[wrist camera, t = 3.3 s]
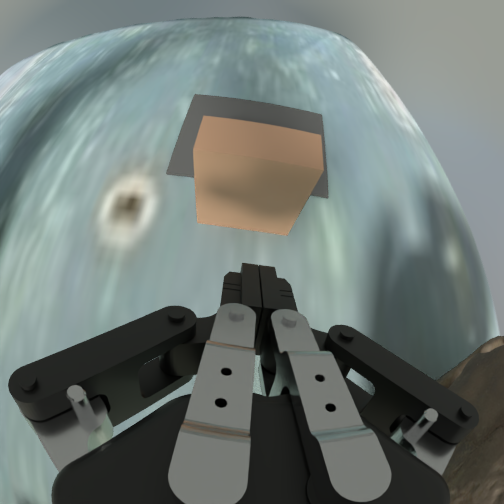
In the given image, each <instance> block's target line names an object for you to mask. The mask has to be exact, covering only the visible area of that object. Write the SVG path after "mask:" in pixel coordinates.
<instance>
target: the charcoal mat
mask: <svg viewBox="0 0 504 504" xmlns="http://www.w3.org/2000/svg"><path fill="white" fill-rule="evenodd" d="M203 116H212V117H221V118H229V119H237V120H244V121H251V122H257V123H263V124H269V125H275V126H280V127H285V128H291V129H296V130H300V131H305V132H310V133H314V134H319V135H321V140H322V153H323V167H324V171H323V173H322V174H321V176H320V178H319V180H318V182H317V184H316V185H315V187H314V189H313V191H312V193H311V194H310V195H313V196H319V197H324V198H328V180H327V165H326V152H325V141H324V130H323V121H322V115H321V114H317V113H313V112H309V111H304V110H299V109H295V108H290V107H285V106H280V105H274V104H269V103H263V102H256V101H250V100H243V99H236V98H228V97H219V96H209V95H198V94H195V95H194V97H193V100H192V102H191V105H190V107H189V110H188V112H187V115H186V118H185V120H184V123H183V126H182V128H181V131H180V134H179V137H178V140H177V142H176V145H175V148H174V151H173V154H172V157H171V160H170V163H169V166H168V169H167V172H166V174H168V175H178V176H187V177H194V160H193V148H194V145H195V141H196V138H197V135H198V131H199V128H200V125H201V122H202V119H203Z"/></svg>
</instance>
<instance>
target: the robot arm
mask: <svg viewBox="0 0 504 504" xmlns="http://www.w3.org/2000/svg"><path fill="white" fill-rule="evenodd" d="M255 355H260V363H259V367H258V373H259V380H260V386H261V392H262V395H260V394H256V393H253V380H254V366H255ZM158 356H159V357H158ZM156 357H157V358H156ZM154 358H155V359H154ZM152 359H153V360H152ZM151 360H152V361H151ZM149 361H150V362H149ZM147 362H148V363H147ZM145 363H146V364H145ZM351 368H352V369H353V370H355V371H356V372H357V373H359V374H360V375H362V376H363V377H365V378H366V379H367V380H369V381H370V382H372V383H373V385H374V387H375V394H374V395H373V396H372V395H370V394H369V393H367V392H366V391H364V390H363V389H362V388H360V387H359V386H358V385H356V384H355V383H353V382H352V381H351V380H349V379H348V378H347V377H346V376H347V375H348V373H349V371H350V369H351ZM196 374H197V376H196V380H195V383H194V387H193V391H192V394H188V395H184V396H180V397H178V398H175V399H173V400H171V401H169V402H167V403H166V404H164V405H163V406H161V407H160V408H158V409H157V410H155V411H154V412H152V413H151V414H149V415H148V416H146V417H145V418H143V419H142V420H140V421H139V422H137V423H136V424H134V425H132V426H131V427H129V428H128V429H126V430H125V431H123V432H121V433H120V434H118V435H117V436H115V437H113V438H112V436H113V432H114V431H113V427H114V426H116V425H118V424H120V423H122V422H123V421H125V420H127V419H129V418H130V417H132V416H134V415H135V414H137V413H139V412H141V411H142V410H144V409H146V408H147V407H149V406H151V405H152V404H154V403H155V402H157V401H159V400H160V399H162V398H164V397H165V396H167V395H168V394H170V393H172V392H173V391H175V390H176V389H178V388H180V387H181V386H183V385H184V384H186V383H187V382H189V381H190V380H191V379H192V377H193V375H196ZM8 387H9V391H10V393H11V395H12V397H13V398H14V400H15V402H16V403H17V405H18V407H19V409H20V412H21V413H22V415H23V416H24V418H25V419H26V421H27V422H28V424H29V425H30V426H31V428H32V429H33V431H34V432H35V433H36V434H37V435H38V437H39V439H40V441H41V443H42V445H43V446H44V448H45V450H46V452H47V453H48V455H49V457H50V458H51V460H52V462H53V463H54V465H55V467H56V468H57V470H58V471H59V474H58V475H57V477H56V479H55V481H54V484H53V487H52V504H450V491H449V488H448V485H447V483H446V481H445V479H444V478H443V477H442V474H443V472H444V470H445V468H446V466H447V464H448V462H449V460H450V458H451V456H452V454H453V452H454V450H455V447H456V446H457V445H458V444H459V443H460V442H461V441H462V440H463V439H464V438H465V437H466V436H467V435H468V434H469V433H470V432H471V431H472V430H473V429H474V428H475V427H476V426H477V424H478V422H479V414H478V412H477V410H476V408H475V407H474V406H473V405H472V404H471V403H469V402H468V401H466V400H465V399H463V398H462V397H460V396H458V395H457V394H455V393H454V392H452V391H450V390H449V389H447V388H446V387H444V386H443V385H441V384H439V383H438V382H436V381H435V380H433V379H432V378H430V377H429V376H427V375H425V374H424V373H422V372H421V371H419V370H418V369H416V368H414V367H413V366H411V365H410V364H408V363H407V362H405V361H404V360H402V359H400V358H399V357H397V356H396V355H394V354H393V353H391V352H390V351H388V350H386V349H385V348H383V347H382V346H380V345H379V344H377V343H376V342H374V341H373V340H371V339H369V338H368V337H366V336H365V335H363V334H362V333H360V332H359V331H357V330H355V329H354V328H352V327H349V326H346V325H335V326H332V327H331V328H330V329H329V332H328V333H325V332H321V331H318V330H315V329H312V328H310V326H309V323H308V321H307V319H306V318H305V317H304V316H303V315H302V314H300V313H299V312H298V310H297V307H296V303H295V299H294V296H293V292H292V288H291V285H290V284H289V283H288V282H287V281H286V280H285V279H282V278H277V275H276V271H275V267H270V266H262V265H259V266H258V265H255V264H247V263H242V266H241V272H240V273H236V272H229V273H228V274H226V275H225V276H224V282H223V290H222V297H221V304H220V307H219V309H218V311H217V313H216V314H214V315H212V316H210V317H205V318H197V317H196V315H195V313H194V312H193V311H191V310H190V309H188V308H186V307H182V306H168V307H165V308H162V309H160V310H158V311H155V312H153V313H151V314H148V315H146V316H144V317H141V318H139V319H137V320H134V321H132V322H129V323H127V324H125V325H122V326H120V327H118V328H115V329H113V330H111V331H108V332H106V333H103V334H101V335H99V336H96V337H94V338H91V339H89V340H87V341H84V342H82V343H79V344H77V345H74V346H72V347H70V348H67V349H65V350H62V351H60V352H57V353H55V354H52V355H50V356H47V357H45V358H43V359H40V360H38V361H35V362H33V363H30V364H28V365H25V366H23V367H20V368H19V369H17V370H16V371H15V372H14V373H13V374H12V375H11V377H10V379H9V383H8Z"/></svg>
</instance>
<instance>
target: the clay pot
mask: <svg viewBox="0 0 504 504" xmlns="http://www.w3.org/2000/svg"><path fill="white" fill-rule="evenodd" d="M435 381H436V382H438V383H439V384H441V385H443V386H444V387H446V388H447V389H449V390H450V391H452V392H454V393H455V394H457V395H458V396H460V397H462V398H463V399H465V400H466V401H468V402H469V403H471V404H472V405H473V406H474V407H475V408H476V410H477V412H478V414H479V422H478V424H477V426H476V427H475V428H474V429H473V430H472V431H471V432H470V433H469V434H468V435H467V436H466V437H465V438H464V439H463V440H462V441H461V442H460V443H459V444H458V445H457V446H456V447H455V450H454V452H453V454H452V456H451V458H450V460H449V462H448V464H447V466H446V468H445V470H444V472H443V474H442V477H443V478H444V479H445V481H446V483H447V485H448V488H449V491H450V504H504V336H497V337H495V338H492V339H490V340H489V341H487V342H486V343H484V344H483V345H481V346H480V347H479V348H478V349H477V350H475V351H474V352H473V353H472V354H471V355H470V356H469V357H467V358H466V359H464V360H463V361H462V362H460V363H459V364H458V365H457V366H456V367H454V368H453V369H452V370H450V371H449V372H447V373H445V374H444V375H443V376H442V377H441V378H439V379H437V380H435Z"/></svg>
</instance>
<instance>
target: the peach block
mask: <svg viewBox="0 0 504 504" xmlns="http://www.w3.org/2000/svg"><path fill="white" fill-rule="evenodd" d="M193 160H194V179H195V195H196V209H197V222H198V223H202V224H209V225H217V226H224V227H231V228H238V229H245V230H252V231H259V232H266V233H273V234H280V235H288V233H289V232H290V230H291V228H292V226H293V225H294V223H295V221H296V219H297V217H298V216H299V214H300V212H301V210H302V209H303V207H304V205H305V203H306V201H307V200H308V198H309V196H310V194H311V193H312V191H313V189H314V187H315V185H316V184H317V182H318V180H319V178H320V176H321V174H322V173H323V171H324V167H323V153H322V140H321V135H319V134H314V133H310V132H305V131H300V130H296V129H291V128H285V127H280V126H275V125H269V124H263V123H257V122H251V121H244V120H237V119H229V118H221V117H212V116H203V119H202V122H201V125H200V128H199V131H198V135H197V138H196V141H195V145H194V148H193Z"/></svg>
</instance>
